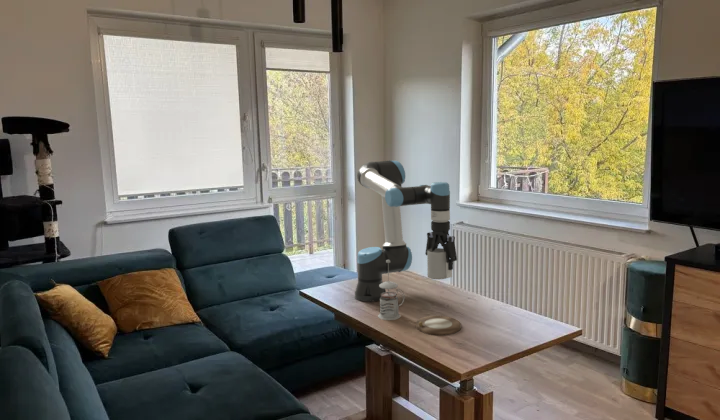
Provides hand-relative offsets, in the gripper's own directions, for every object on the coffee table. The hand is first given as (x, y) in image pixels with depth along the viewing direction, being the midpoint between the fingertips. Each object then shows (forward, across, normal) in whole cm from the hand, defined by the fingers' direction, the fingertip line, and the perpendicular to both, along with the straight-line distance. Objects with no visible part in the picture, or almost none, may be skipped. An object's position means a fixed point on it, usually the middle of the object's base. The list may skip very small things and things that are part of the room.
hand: (441, 275), depth 214 cm
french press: (+20, -18, -12) cm, 30 cm away
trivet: (+20, +3, -5) cm, 21 cm away
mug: (+1, 0, 0) cm, 1 cm away
